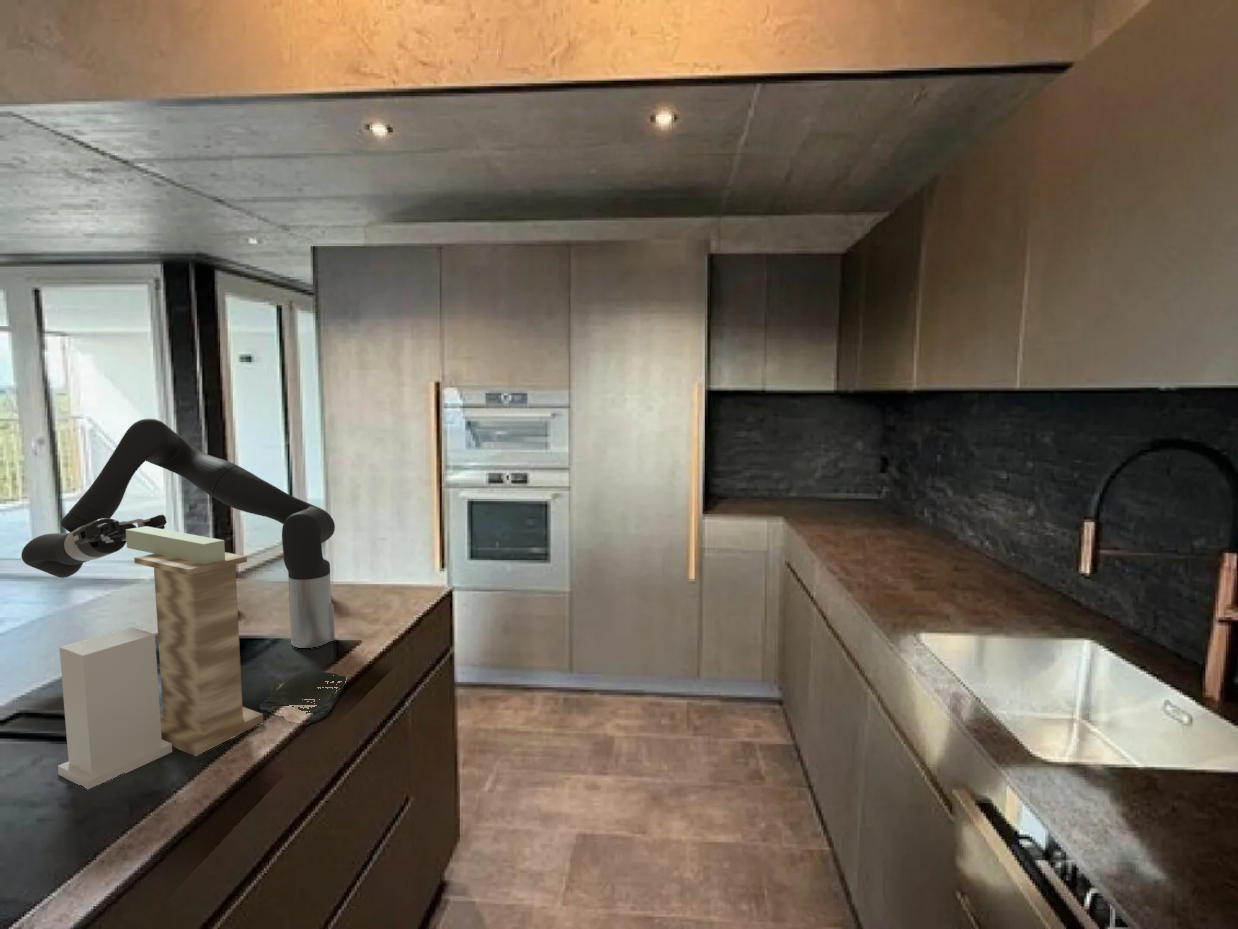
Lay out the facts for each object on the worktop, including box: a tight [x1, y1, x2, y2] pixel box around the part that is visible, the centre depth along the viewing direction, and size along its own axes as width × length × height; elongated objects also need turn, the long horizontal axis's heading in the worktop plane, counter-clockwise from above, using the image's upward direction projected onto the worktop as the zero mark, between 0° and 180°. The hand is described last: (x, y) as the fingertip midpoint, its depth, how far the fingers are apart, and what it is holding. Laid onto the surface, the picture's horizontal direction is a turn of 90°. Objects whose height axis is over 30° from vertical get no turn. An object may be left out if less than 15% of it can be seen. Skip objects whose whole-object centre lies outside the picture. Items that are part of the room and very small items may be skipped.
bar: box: [126, 526, 226, 564], centre depth 114 cm, size 24×4×4 cm, turn 64°
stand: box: [133, 551, 264, 757], centre depth 113 cm, size 17×12×32 cm
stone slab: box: [259, 669, 347, 726], centre depth 127 cm, size 24×17×2 cm
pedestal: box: [57, 626, 173, 789], centre depth 103 cm, size 9×12×21 cm
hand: (141, 522), depth 126 cm, fingers open, 8 cm apart
